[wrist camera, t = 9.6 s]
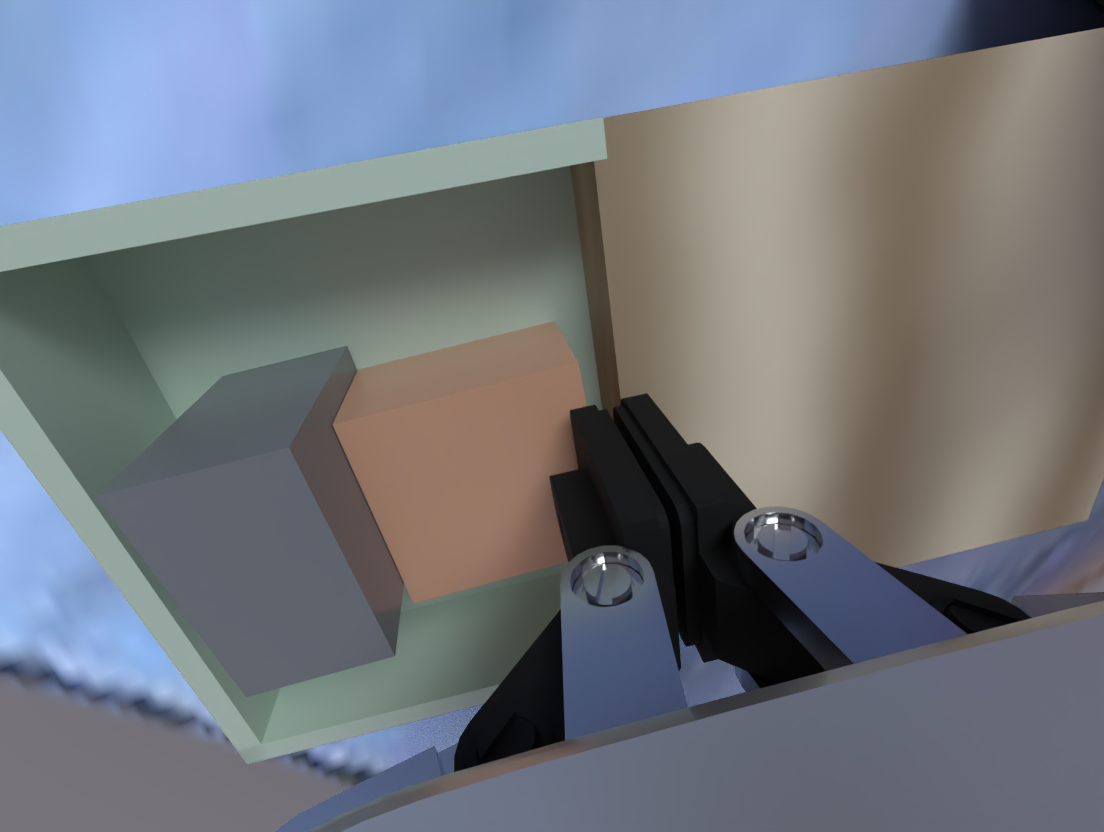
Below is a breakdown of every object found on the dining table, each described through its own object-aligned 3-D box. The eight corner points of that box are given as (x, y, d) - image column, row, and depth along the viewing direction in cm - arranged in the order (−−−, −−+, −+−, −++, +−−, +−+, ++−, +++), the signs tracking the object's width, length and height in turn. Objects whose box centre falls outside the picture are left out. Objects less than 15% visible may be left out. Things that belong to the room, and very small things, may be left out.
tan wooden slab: (1120, 26, 13) (1291, -7, 10) (999, 468, 19) (1087, 520, 16) (560, 127, 12) (589, 120, 9) (618, 559, 18) (646, 630, 15)
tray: (560, 127, 12) (602, 117, 8) (618, 559, 18) (658, 659, 14) (53, 219, 11) (-133, 250, 8) (290, 638, 17) (247, 764, 14)
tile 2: (554, 321, 13) (578, 363, 11) (587, 482, 16) (614, 549, 13) (357, 369, 13) (331, 425, 10) (421, 525, 15) (413, 603, 13)
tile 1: (288, 447, 8) (95, 495, 8) (395, 656, 11) (245, 697, 11) (347, 345, 13) (222, 376, 13) (413, 508, 15) (308, 536, 15)
